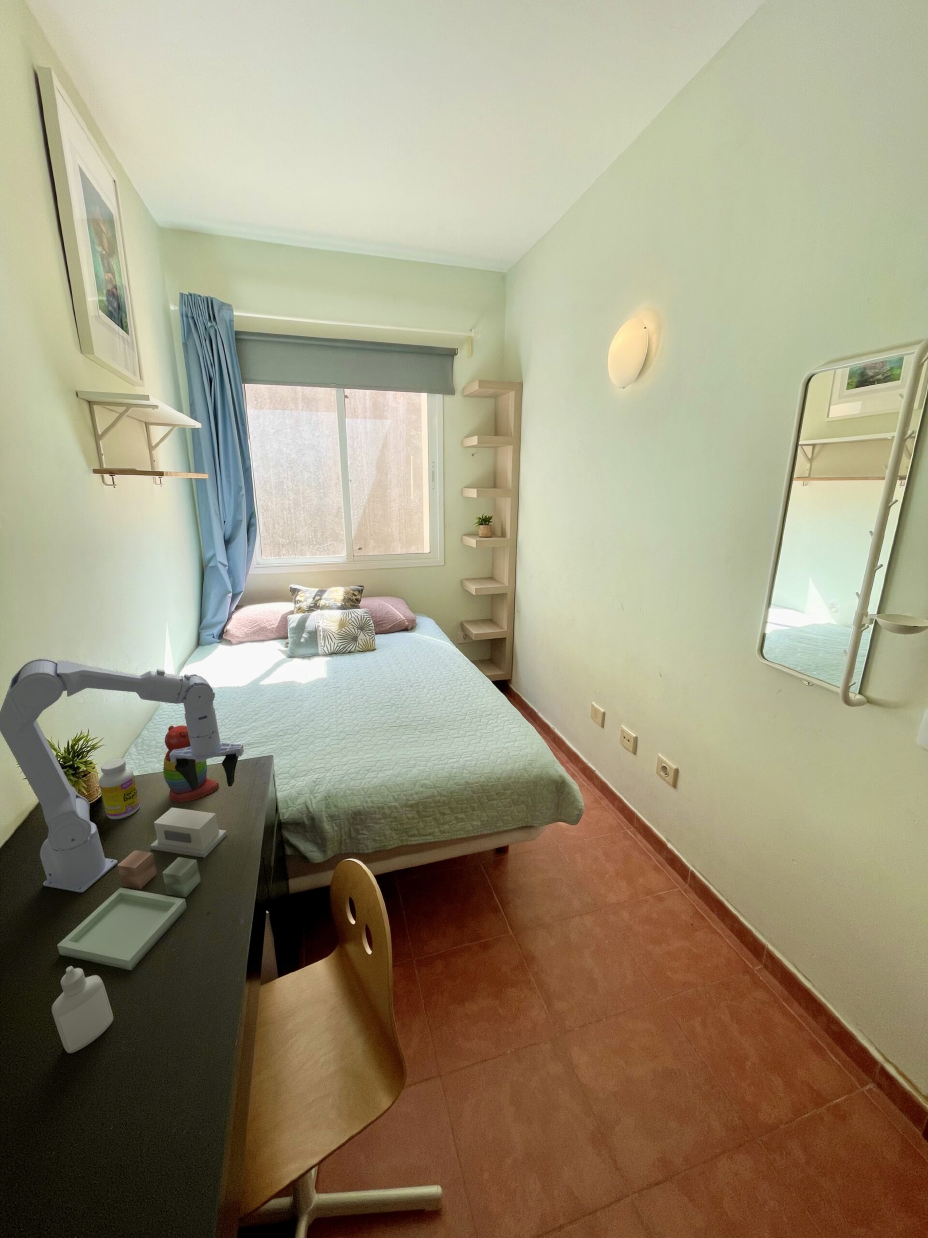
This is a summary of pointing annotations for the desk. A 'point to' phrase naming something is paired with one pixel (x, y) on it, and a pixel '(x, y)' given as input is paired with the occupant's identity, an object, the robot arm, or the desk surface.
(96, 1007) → the eye dropper bottle
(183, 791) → the stacking bear
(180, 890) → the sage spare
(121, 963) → the sage tray
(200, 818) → the mounted unit
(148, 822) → the desk surface
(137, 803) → the supplement bottle
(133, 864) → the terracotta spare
